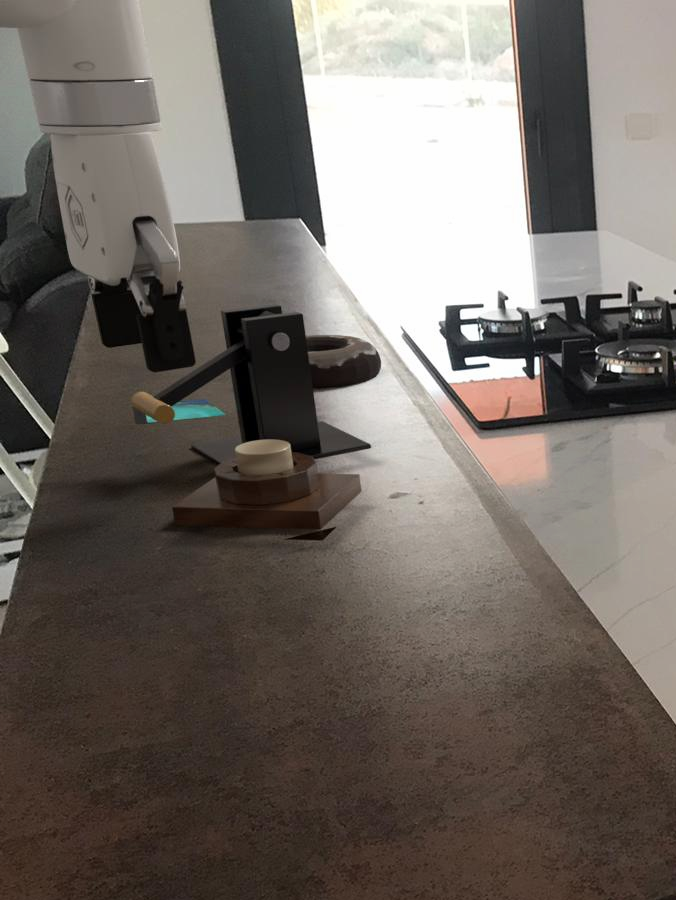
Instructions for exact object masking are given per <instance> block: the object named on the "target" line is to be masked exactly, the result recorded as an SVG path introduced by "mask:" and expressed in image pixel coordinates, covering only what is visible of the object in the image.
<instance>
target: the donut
mask: <svg viewBox="0 0 676 900" xmlns="http://www.w3.org/2000/svg"><path fill="white" fill-rule="evenodd" d="M306 342H307V349H308V356H309V364H310V371H311V378H312V385H313V390H322V389H333V388H343V387H347V386H353V385H357V384H362V383H364V382H368V381H370V380H372V379H374V378H376V377H377V376H378V375H379V374H380V371H381V369H382V360H381V355H380V353H379V351H378V349H376V347H375V346H374V345H373V344H371V342H369V341H367V340H364V339H362V338H360V337H355V336H351V335H341V334H313V335H306Z"/></svg>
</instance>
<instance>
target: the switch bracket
mask: <svg viewBox="0 0 676 900" xmlns="http://www.w3.org/2000/svg"><path fill="white" fill-rule="evenodd" d="M264 311H268V312H271V313H273V314H276V315H268V316H259V317H257V316H258V315H260V314H261V313H263V312H264ZM220 315H221V322H222V327H223V334H224V340H225V346H226V350H227V349H228V348H230V347H231V346H233V345H235V344H236V343H238V342H239V341H241V340H242V338H241V337H240V335H239V334H238V332H237V331H236V329H238V328H239V327H241V326H242V329H243V335H244V342H245V348H246V355H247V358H245V359H244V360H242V361H241V362H239V363H238V364H236V365H235V366H233V367H231V368H230V369H229V370H230V372H229V373H230V377H231V383H232V390H233V395H234V402H235V408H236V414H237V421H238V426H239V427H238V428H239V432H240V433H239V434H240V435H238V436H231V437H227V438H221V439H215V440H209V441H204V442H199V443H193V444H191V445H190V448H191V450H193V451H195V452H196V453H198V454H200V455H202V456H203V457H205V458H206V459H209V460H210V461H212V462H213V463H215V464H216V465H217V466H218V465H220V464H221V463H222V462H224V461H226V460H229V459H233V458H236V455H235V448H236V447H237V446H239V445H241V444H243V443H246V442H251V441H256V440H268V439H273V440H282V441H286V442H288V443H289V444H290V445H291V452H295V453H300V454H304V455H308V456H312V457H313V458H314V460H318V459H323V458H328V457H332V456H338V455H342V454H348V453H353V452H358V451H363V450H367V449H368V450H369V449H371V448H372V446H371V445H372V444H371V443H369V442H366V441H364V440H363V439H360V438H358V437H356V436H354V435H352V434H351V433H348V432H346V431H344V430H342V429H340V428H338V427H336V426H334V425H332V424H329V423H328V422H325V421H323V420H321V421H320V420H319V421H318V416H317V415H318V414H317V409H316V408H317V407H316V400H315V393H314V389H313V385H312V378H311V371H310V364H309V356H308V349H307V342H306V336H307V335H306V328H305V320H304V314H303V313H301V312H299V311H294V312H285V313H283V311H282V305H279V304H276V303H274V304H265V305H257V306H249V307H240V308H232V309H224V310H223V309H221V310H220Z"/></svg>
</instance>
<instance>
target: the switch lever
mask: <svg viewBox="0 0 676 900" xmlns="http://www.w3.org/2000/svg"><path fill="white" fill-rule="evenodd" d="M268 315H276V314H273V313H271V312H268V311H264V312H263V313H261V314H260V315H258V316H257V317H259V316H268ZM236 331H237V332H238V334H239V335H240V337H241V338H242V340H241V341H239V342H238V343H236V344H235V345H233V346H231V347H230V348H228V349H227V348H226V349H224V351H221V353H219V354H217V355H216V356H214V357H213V358H211V359H209V360H208V361H206V362H205V363H204V364H202V365H200V366H198V367H197V368H196V369H194V370H192V371H191V372H189V373H188V374H186V375H184V376H183V377H182V378H179V380H177V381H175V382H174V383H172V384H171V385H169V386H168V387H166V388H164V389H163V390H161V391H159V392H158V393H157V394H155V395H154V396H153V395H151V394H149V393H148V392H146V391H138V392H136V393H134V394H133V395H132V397H131V404H132V407H134V408H136V409H137V410H139V411H141V412H142V413H144V414H146V415H147V416H149V417H151V418H152V419H154V420H156V421H157V422H159V423H158V424H162V425H168V424H170V423H171V422H174V421H173V419H174V417H175V412H174V410H173V408H172V407H171V406H173V405H175V404H176V403H178V402H179V401H183V400H184V399H185V398H187V397H189V396H190V395H192V394H193V393H195V392H196V391H198V390H199V389H201V388H203V387H204V386H206V385H208V384H209V383H210V382H212V381H213V380H214V379H215V380H216V378H217V377H219V376H221V375H223V374H224V373H225V372H227V371H228V370H230V368H231V367H233V366H235V365H236V364H238V363H239V362H241V361H242V360H244V359H245V358H247V355H246V348H245V342H244V335H243V329H242V326H241V327H239V328H238V329H236Z"/></svg>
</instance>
